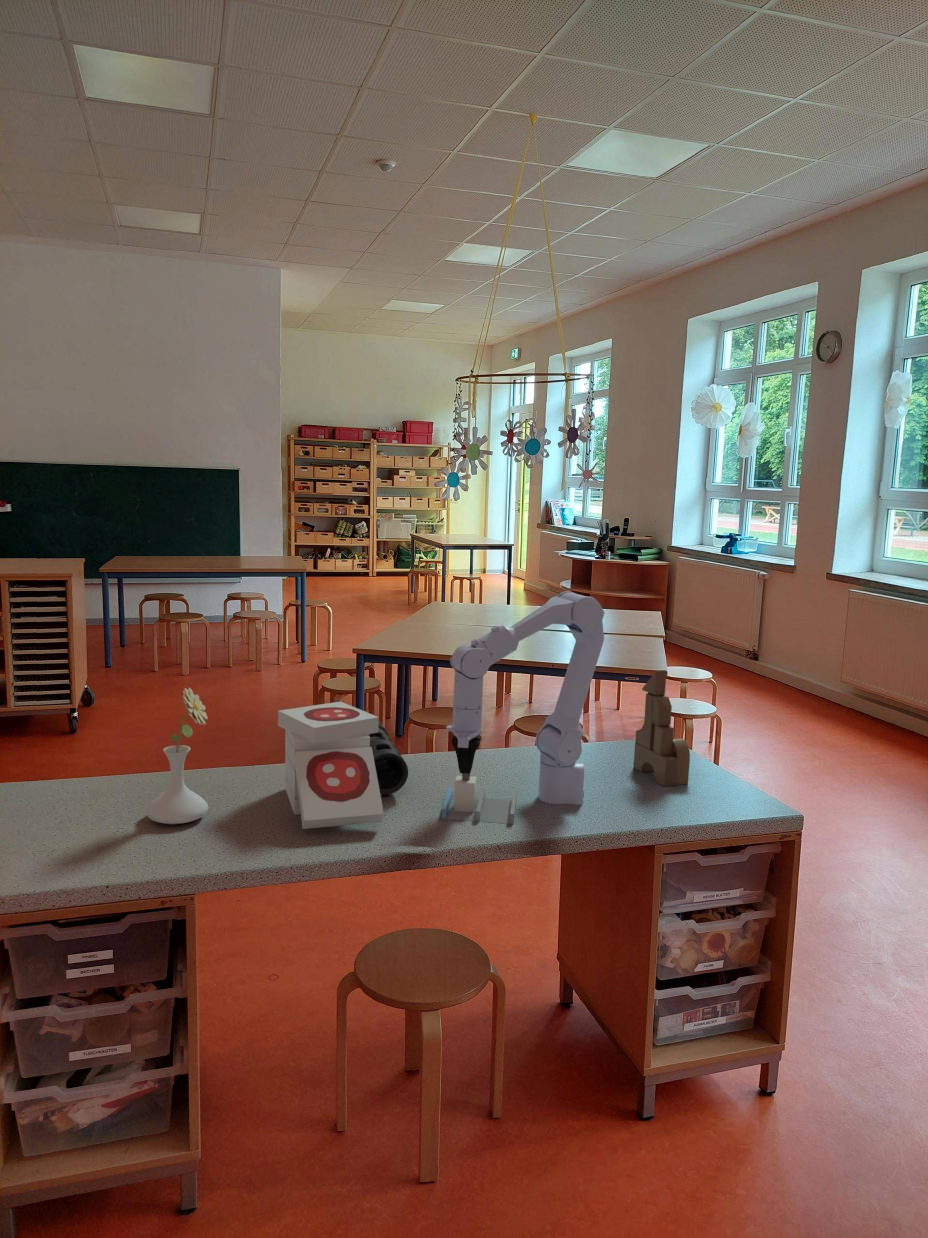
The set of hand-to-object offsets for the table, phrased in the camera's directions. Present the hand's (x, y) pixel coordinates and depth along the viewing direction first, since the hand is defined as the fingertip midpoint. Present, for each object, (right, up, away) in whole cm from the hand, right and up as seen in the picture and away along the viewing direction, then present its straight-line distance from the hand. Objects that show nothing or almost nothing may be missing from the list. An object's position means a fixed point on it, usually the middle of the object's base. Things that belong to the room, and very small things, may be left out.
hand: (465, 772), depth 177 cm
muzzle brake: (-20, -5, +21) cm, 29 cm away
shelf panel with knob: (+3, -9, +1) cm, 9 cm away
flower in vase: (-55, -8, -6) cm, 56 cm away
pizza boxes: (-27, -8, +2) cm, 28 cm away
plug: (0, -7, +1) cm, 7 cm away
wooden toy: (+45, -6, +29) cm, 54 cm away
